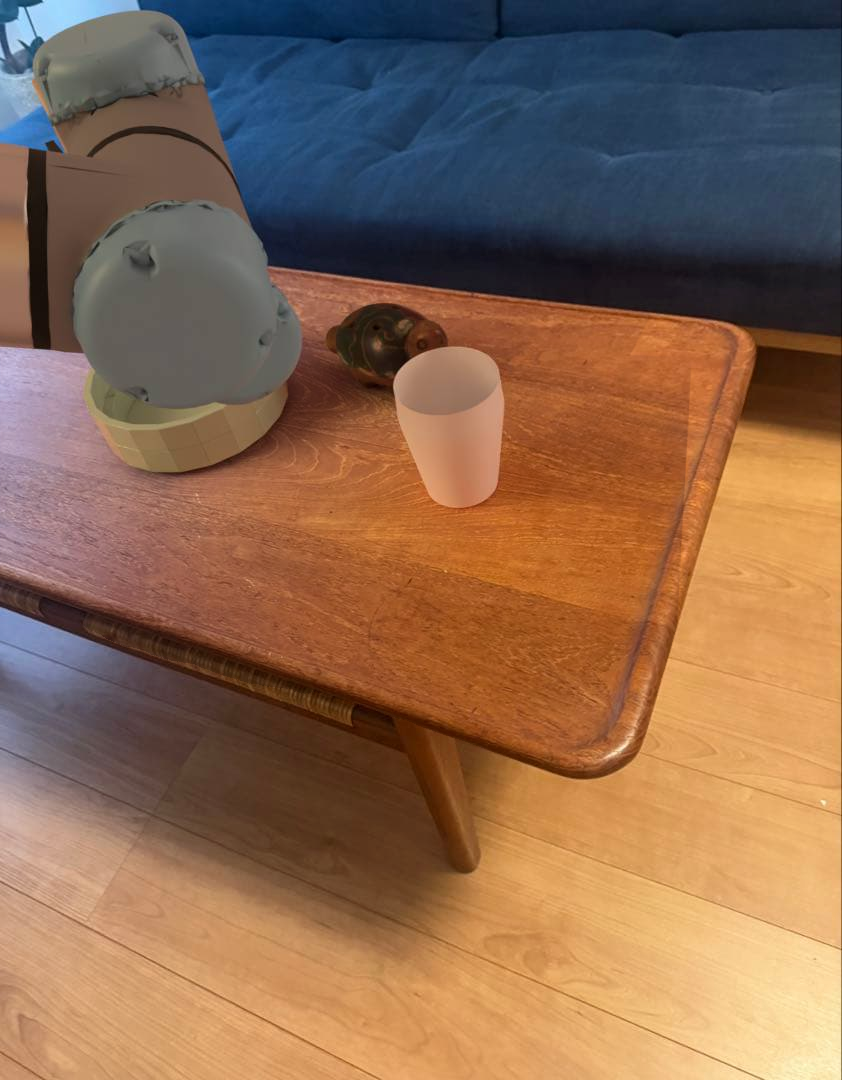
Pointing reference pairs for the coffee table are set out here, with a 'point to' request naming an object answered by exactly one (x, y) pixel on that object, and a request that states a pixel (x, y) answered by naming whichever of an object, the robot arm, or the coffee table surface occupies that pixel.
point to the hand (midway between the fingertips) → (77, 149)
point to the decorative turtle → (383, 341)
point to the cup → (452, 422)
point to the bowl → (177, 427)
